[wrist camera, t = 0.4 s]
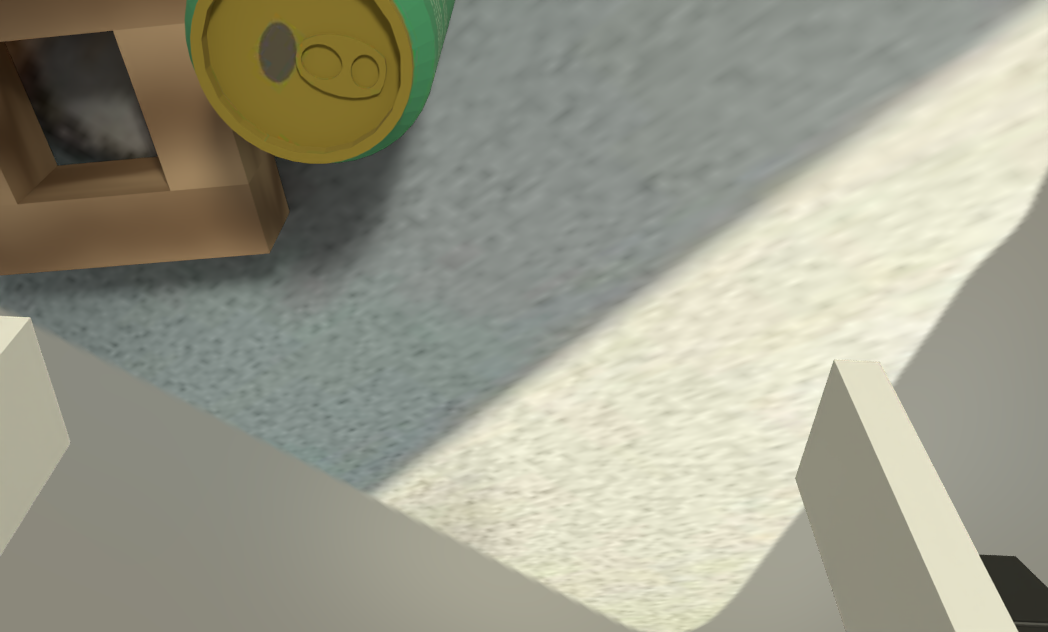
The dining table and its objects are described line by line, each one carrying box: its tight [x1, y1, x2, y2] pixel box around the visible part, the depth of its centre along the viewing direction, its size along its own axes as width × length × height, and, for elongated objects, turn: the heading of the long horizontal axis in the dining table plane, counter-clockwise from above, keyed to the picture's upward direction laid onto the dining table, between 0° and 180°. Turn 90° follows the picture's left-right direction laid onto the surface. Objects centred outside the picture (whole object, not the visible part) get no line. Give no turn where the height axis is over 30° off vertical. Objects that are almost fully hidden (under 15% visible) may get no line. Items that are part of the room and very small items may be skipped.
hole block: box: [0, 0, 289, 275], centre depth 39 cm, size 14×14×4 cm
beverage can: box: [184, 0, 455, 164], centre depth 32 cm, size 8×8×12 cm
